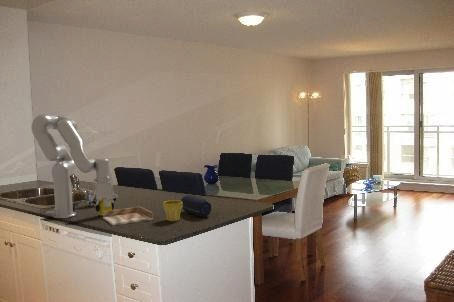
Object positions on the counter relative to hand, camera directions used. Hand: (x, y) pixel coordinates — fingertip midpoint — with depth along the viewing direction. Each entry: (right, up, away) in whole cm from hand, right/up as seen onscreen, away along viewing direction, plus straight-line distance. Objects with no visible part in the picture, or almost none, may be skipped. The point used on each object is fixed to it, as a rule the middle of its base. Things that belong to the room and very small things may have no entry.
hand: (104, 210), depth 257 cm
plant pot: (+41, -3, -15) cm, 44 cm away
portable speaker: (+53, -2, -3) cm, 53 cm away
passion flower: (-16, -1, +29) cm, 33 cm away
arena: (+15, -3, -10) cm, 19 cm away
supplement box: (0, -3, 0) cm, 3 cm away
